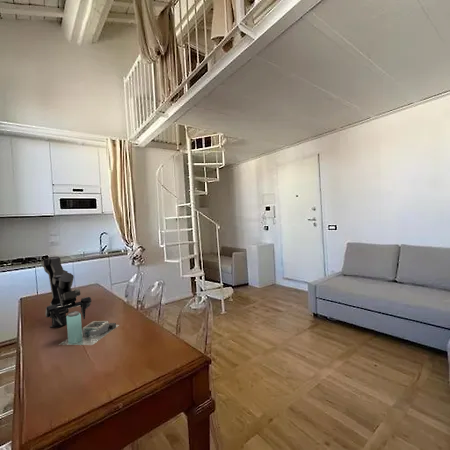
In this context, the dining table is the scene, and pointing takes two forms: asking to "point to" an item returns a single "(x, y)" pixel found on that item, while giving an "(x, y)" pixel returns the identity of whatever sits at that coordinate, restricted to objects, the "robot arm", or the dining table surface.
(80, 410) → the dining table surface
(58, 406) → the dining table surface
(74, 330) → the bottle
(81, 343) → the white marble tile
